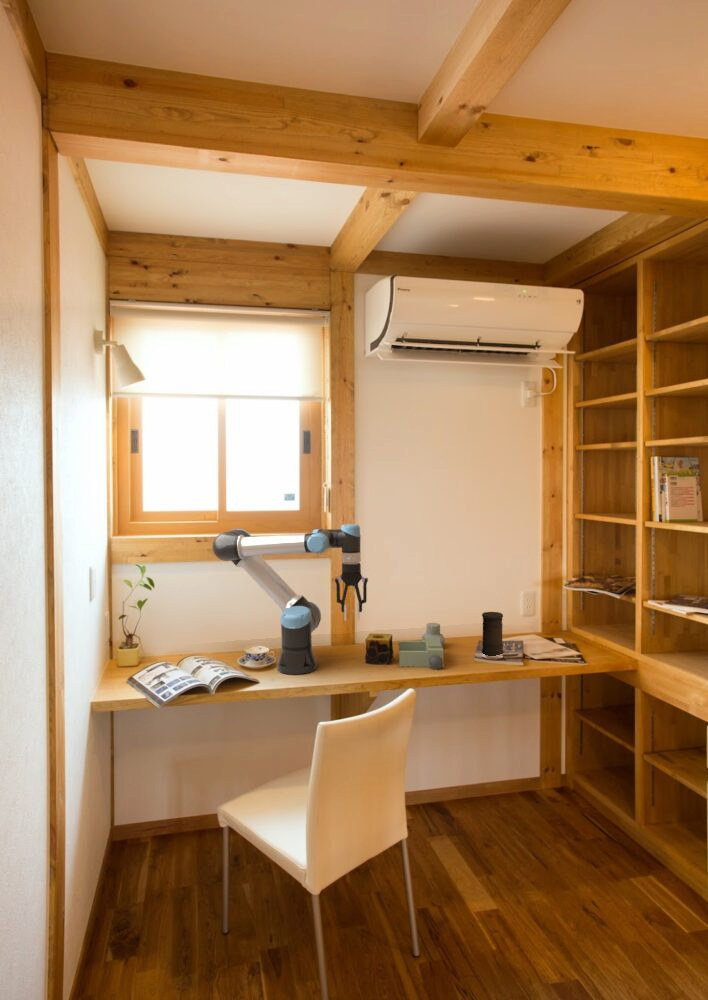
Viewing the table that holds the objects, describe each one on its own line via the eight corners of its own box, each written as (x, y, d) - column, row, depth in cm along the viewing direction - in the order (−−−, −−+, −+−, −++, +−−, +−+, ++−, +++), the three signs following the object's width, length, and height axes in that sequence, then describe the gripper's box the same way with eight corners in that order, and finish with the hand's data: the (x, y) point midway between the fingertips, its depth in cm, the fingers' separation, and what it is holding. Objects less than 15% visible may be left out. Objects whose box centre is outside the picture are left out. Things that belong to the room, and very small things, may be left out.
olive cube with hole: (390, 665, 256) (389, 640, 256) (364, 664, 259) (364, 639, 258) (393, 657, 266) (393, 633, 266) (369, 656, 268) (369, 632, 268)
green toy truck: (399, 669, 251) (399, 649, 250) (398, 652, 273) (398, 634, 273) (443, 669, 250) (443, 649, 249) (439, 652, 272) (439, 634, 272)
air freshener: (445, 650, 276) (445, 627, 276) (427, 651, 275) (426, 627, 275) (439, 643, 287) (439, 620, 286) (421, 644, 286) (420, 621, 285)
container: (507, 656, 266) (507, 613, 265) (497, 661, 259) (497, 617, 258) (487, 652, 272) (488, 610, 271) (477, 657, 265) (477, 614, 264)
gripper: (328, 564, 258) (329, 622, 259) (372, 564, 257) (373, 622, 258) (330, 561, 265) (331, 617, 266) (373, 561, 264) (373, 617, 265)
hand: (351, 619), depth 262 cm, fingers open, 4 cm apart
